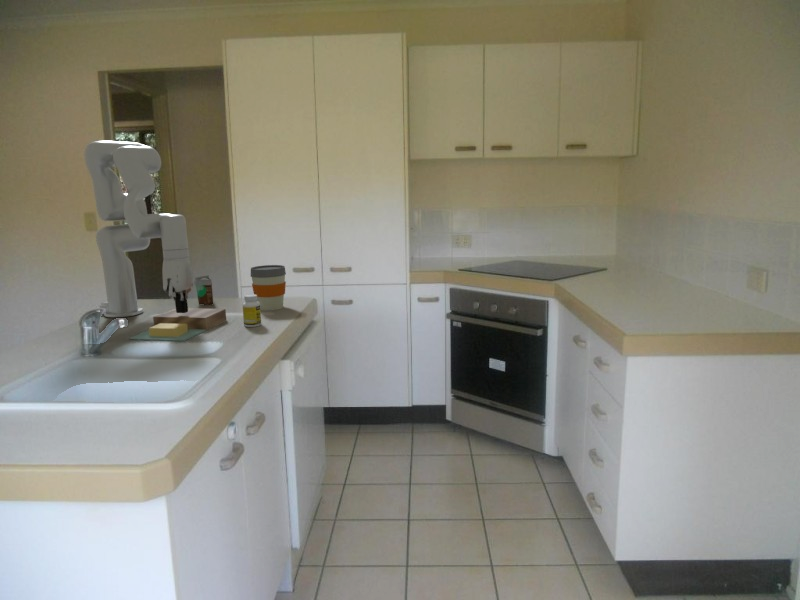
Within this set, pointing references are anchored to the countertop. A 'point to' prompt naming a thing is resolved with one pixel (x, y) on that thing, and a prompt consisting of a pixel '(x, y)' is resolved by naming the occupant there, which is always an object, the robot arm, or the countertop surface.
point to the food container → (204, 290)
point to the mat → (182, 337)
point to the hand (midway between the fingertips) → (182, 312)
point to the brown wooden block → (193, 318)
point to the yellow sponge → (168, 330)
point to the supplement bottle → (251, 311)
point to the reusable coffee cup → (269, 286)
